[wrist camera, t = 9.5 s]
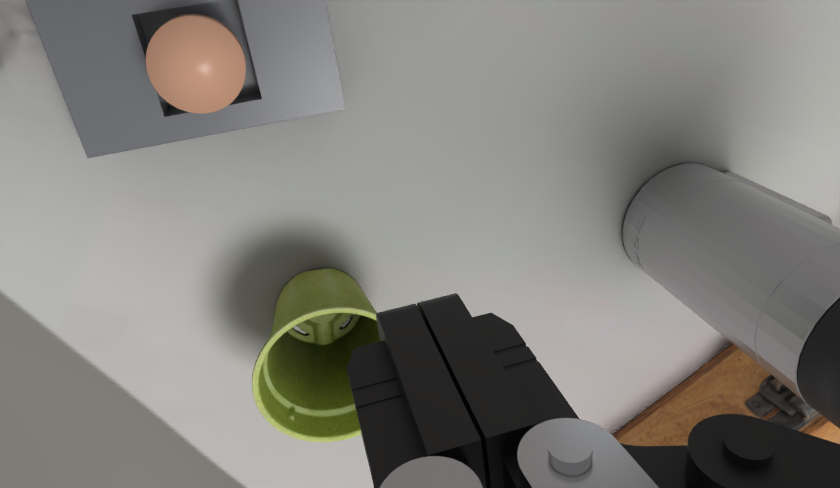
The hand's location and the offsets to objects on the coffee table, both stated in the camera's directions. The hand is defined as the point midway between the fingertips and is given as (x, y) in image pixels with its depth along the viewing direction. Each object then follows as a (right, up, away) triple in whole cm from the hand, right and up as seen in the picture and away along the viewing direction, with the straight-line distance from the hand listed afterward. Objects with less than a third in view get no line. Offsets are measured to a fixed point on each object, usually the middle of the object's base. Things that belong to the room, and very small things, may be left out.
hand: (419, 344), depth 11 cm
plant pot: (-7, -2, +33) cm, 33 cm away
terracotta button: (-12, +12, +23) cm, 29 cm away
